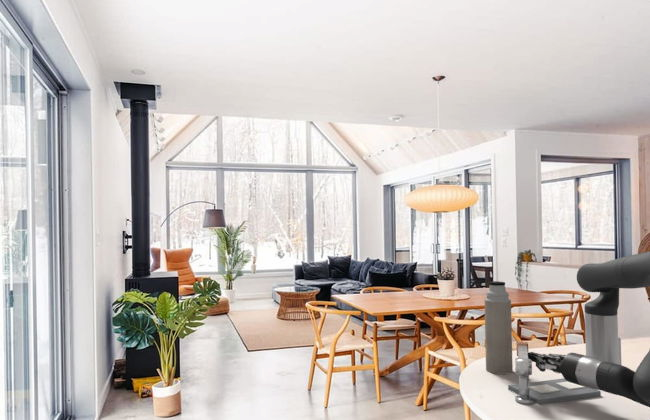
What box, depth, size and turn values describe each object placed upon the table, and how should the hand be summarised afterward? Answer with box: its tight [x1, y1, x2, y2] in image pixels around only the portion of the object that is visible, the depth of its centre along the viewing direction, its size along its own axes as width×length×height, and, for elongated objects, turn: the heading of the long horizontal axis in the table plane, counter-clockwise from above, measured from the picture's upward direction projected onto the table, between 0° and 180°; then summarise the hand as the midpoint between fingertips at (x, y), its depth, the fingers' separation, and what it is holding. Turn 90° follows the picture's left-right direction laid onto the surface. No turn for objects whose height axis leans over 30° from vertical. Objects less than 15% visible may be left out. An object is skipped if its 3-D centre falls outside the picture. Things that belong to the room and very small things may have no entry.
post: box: [514, 374, 535, 405], centre depth 126 cm, size 4×4×7 cm
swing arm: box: [514, 341, 533, 376], centre depth 134 cm, size 22×4×4 cm, turn 159°
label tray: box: [507, 377, 602, 405], centre depth 132 cm, size 20×12×2 cm, turn 107°
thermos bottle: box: [484, 280, 514, 375], centre depth 153 cm, size 8×8×28 cm
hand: (529, 355), depth 136 cm, fingers closed
